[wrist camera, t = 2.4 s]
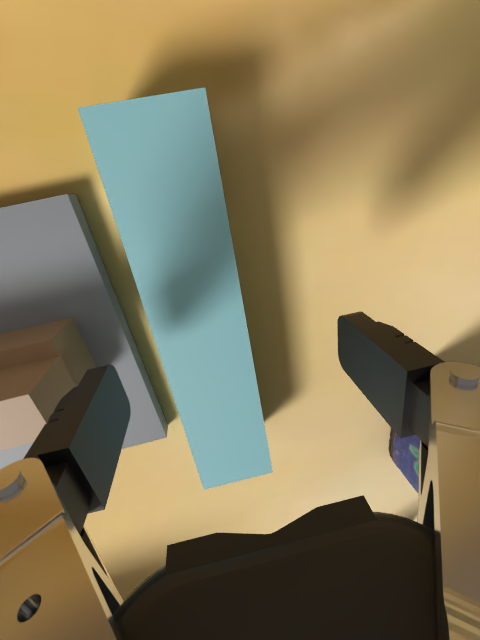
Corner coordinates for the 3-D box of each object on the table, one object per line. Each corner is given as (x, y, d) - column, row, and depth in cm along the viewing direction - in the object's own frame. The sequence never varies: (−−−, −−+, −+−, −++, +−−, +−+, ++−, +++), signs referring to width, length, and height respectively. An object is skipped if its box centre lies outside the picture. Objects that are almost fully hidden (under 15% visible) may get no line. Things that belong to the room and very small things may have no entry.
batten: (201, 117, 13) (205, 87, 9) (258, 422, 20) (272, 472, 17) (110, 132, 13) (77, 107, 9) (202, 436, 20) (204, 489, 16)
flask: (413, 458, 24) (564, 638, 14) (380, 463, 24) (511, 651, 14) (441, 361, 20) (670, 515, 11) (402, 366, 20) (602, 529, 10)
